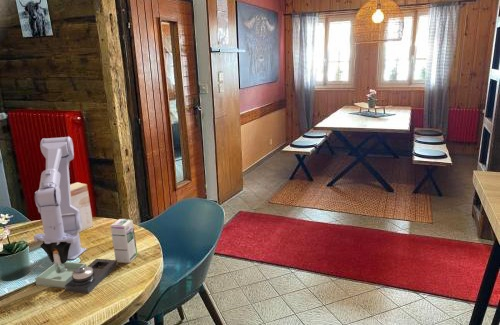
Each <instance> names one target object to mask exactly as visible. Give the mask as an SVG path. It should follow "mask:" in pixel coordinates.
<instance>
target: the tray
mask: <svg viewBox="0 0 500 325" xmlns="http://www.w3.org/2000/svg"><path fill="white" fill-rule="evenodd" d="M65 263H66V269H67V270H66V271H65V272H63V273H56V269H55V264H54V263H53V264H52V265H51V266H50V267H48V268H46V270H44V271H43V272H41V273H40V274H39V275H37V276H36V277H35V278H34V281H35V285H36V286H42V287H50V288H51V287H52V288H61V289H65V285H66V284H67V283H68V282H70V281H71V280H72V273H73V271H75V270H76V269H78V268H81V267H87V264H86V263H83V262H74V261H73V262H71V261H66V262H65Z"/></svg>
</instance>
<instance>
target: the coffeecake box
mask: <svg viewBox="0 0 500 325" xmlns="http://www.w3.org/2000/svg"><path fill="white" fill-rule="evenodd" d="M70 191H71V205H72V206H74V207H76V208H77V209H79V211H80V214H81V219H82V228H81V229H80V230H79V233H81V232H83V231H86V230H88V229H91V228H93V227H94V221H93V220H94V219H93V215H92V214H93V213H92V208H91V202H90V196H89V188H88V184H87V183H83V182H82V183H81V182H78V181H77V182H74V183H70ZM71 214H74V213H68V214H61V216H63V215H71Z"/></svg>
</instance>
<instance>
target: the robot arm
mask: <svg viewBox="0 0 500 325" xmlns="http://www.w3.org/2000/svg"><path fill="white" fill-rule="evenodd" d="M39 147H40V151H41V153H42V155H43V157H44V158H45V170H43V171H41V175H40V181H39V187H38V190H36V191H35V192H34V202H35V205H36V207H37V211H38V213H39V214H40V217H41V222H42V229H43V233H37V234H35V235H33V239H34V242H39V241H40V242H42V243H41V244H40V248H41V249H42V250H43V251H44V252H45V253H46V254H47V256H48V258H49V259H50V262H51V263H53V264H54V258H53V253H52V249H54V248H56V249H57V251H58V253H59V256H60V260H61V263H62V264H64V263H65V262H68V260H75V259H77V258H78V257H79V256H80V255H82V254H83V253H84V252H85V251H87V250H88V249H87V248H86V247H82V243H81V238H80V232H79V230H80V229H81V228H82V219H81V214H80V211H79V209H77V208H76V207H74V206H72V205H71V191H70V185H71V183H70V182H71V180H70V179H71V177H70V169H69V168H70V162H71V161H72V160H74V157H75V152H74V151H75V150H74V143H73V138H71V137H70V136H64V137H63V136H61V137H50V138H49V137H48V138H45V137H44V138H42V139H41V140H40V145H39ZM68 213H74V214H71V215H63V216H61V214H68Z"/></svg>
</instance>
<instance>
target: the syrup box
mask: <svg viewBox="0 0 500 325" xmlns="http://www.w3.org/2000/svg"><path fill="white" fill-rule="evenodd" d="M109 227H110V233H111V240H112V246H113V252H114V257H115V259H114V260H117V263H122V264H124V263H125V264H131V263H132V261H133V260H135V258H136V257H137V256H138V249H137V242H136V241H137V240H136V234H135V228H134V221H133V219H129V218H119V219H118V220H116V221H114V222H113V223H112V224H111V225H110V226H109Z"/></svg>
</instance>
